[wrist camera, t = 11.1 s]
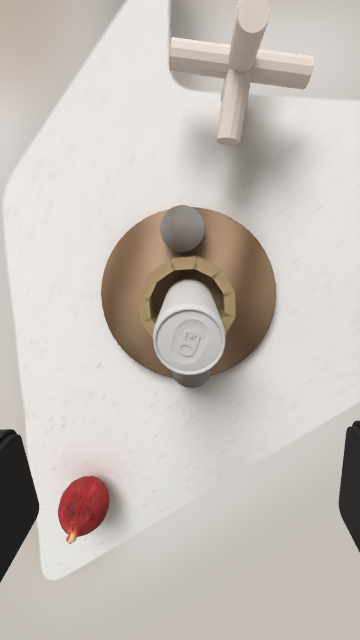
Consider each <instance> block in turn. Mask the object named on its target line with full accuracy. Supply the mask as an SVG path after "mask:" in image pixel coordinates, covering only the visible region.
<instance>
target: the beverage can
mask: <svg viewBox="0 0 360 640" xmlns="http://www.w3.org/2000/svg"><path fill="white" fill-rule="evenodd" d="M225 335H226V333H225V329H224V326H223V323H222V320H221V317H220V315H219V312H218V310H217V307H216V304H215V302H214V299H213V297H212V294H211V292H210V290H209V288H208V287H207V286H206V285H205V284H204V283H203V282H201V281H199V280H197V279H192V278H185V279H182V280H179V281H177V282H175V283H174V284H173V285H172V286H171V287H170V288H169V290H168V292H167V294H166V297H165V300H164V302H163V305H162V308H161V310H160V313H159V316H158V318H157V321H156V324H155V327H154V332H153V343H154V349H155V352H156V354H157V357H158V358H159V359H160V361H161V362H162V364H164V365H165V366H166V367H167V368H168V369H170V370H172V371H174V372H176V373H180V374H184V375H195V374H199V373H203V372H205V371H207V370H209V369H210V368H212V367H213V366H214V365H215V364H216V363H217V362H218V361H219V359H220V358H221V356H222V354H223V351H224V347H225Z"/></svg>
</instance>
